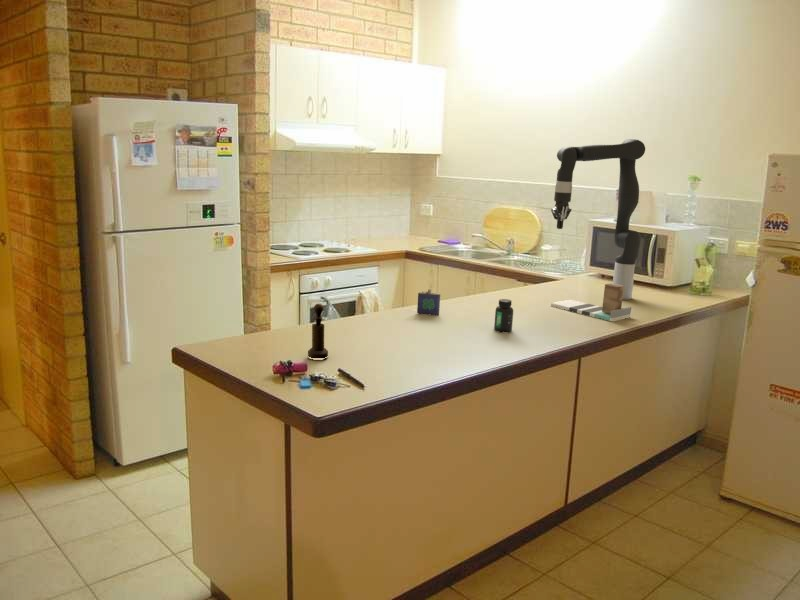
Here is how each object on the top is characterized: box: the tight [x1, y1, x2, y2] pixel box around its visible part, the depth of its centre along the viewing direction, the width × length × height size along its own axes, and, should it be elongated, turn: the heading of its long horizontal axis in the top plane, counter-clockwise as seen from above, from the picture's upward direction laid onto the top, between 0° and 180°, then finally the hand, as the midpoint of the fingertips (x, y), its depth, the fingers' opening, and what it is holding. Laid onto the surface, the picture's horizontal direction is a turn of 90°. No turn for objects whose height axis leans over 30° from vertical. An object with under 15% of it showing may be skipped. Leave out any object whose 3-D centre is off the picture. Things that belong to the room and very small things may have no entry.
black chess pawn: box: [307, 303, 329, 358], centre depth 221 cm, size 7×6×18 cm
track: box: [550, 299, 632, 322], centre depth 304 cm, size 14×32×4 cm, turn 41°
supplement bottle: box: [493, 298, 514, 333], centre depth 265 cm, size 7×7×12 cm
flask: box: [416, 288, 441, 316], centre depth 285 cm, size 9×3×11 cm, turn 87°
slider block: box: [601, 282, 624, 314], centre depth 294 cm, size 5×6×12 cm
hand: (559, 228), depth 322 cm, fingers closed
